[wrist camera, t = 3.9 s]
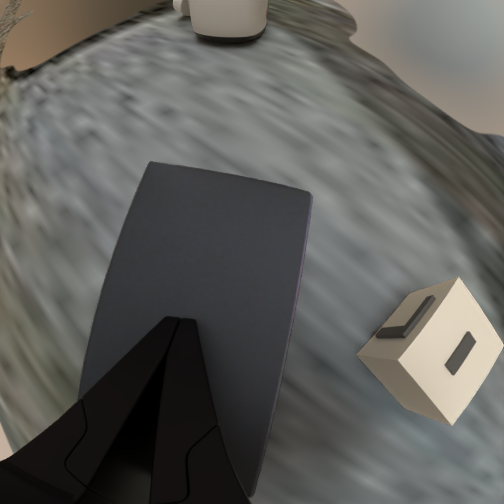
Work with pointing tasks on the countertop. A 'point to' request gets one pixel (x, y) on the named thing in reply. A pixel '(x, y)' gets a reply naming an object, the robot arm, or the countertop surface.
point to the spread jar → (225, 18)
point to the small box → (210, 290)
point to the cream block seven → (434, 351)
